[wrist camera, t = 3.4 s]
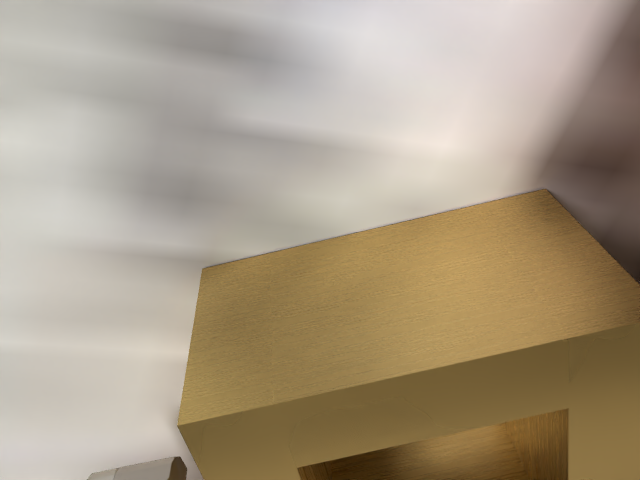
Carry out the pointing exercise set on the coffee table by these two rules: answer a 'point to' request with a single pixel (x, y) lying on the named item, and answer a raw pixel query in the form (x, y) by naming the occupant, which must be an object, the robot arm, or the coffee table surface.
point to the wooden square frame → (421, 354)
